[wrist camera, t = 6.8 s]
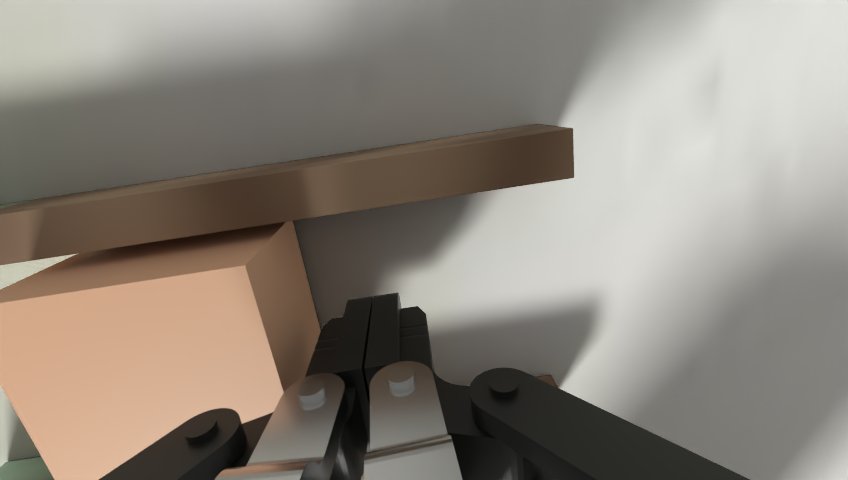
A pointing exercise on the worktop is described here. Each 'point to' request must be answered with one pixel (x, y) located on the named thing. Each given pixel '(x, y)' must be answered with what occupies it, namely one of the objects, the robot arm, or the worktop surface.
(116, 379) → the terracotta block
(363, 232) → the worktop surface
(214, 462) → the robot arm
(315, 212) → the walnut chute
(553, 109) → the worktop surface
